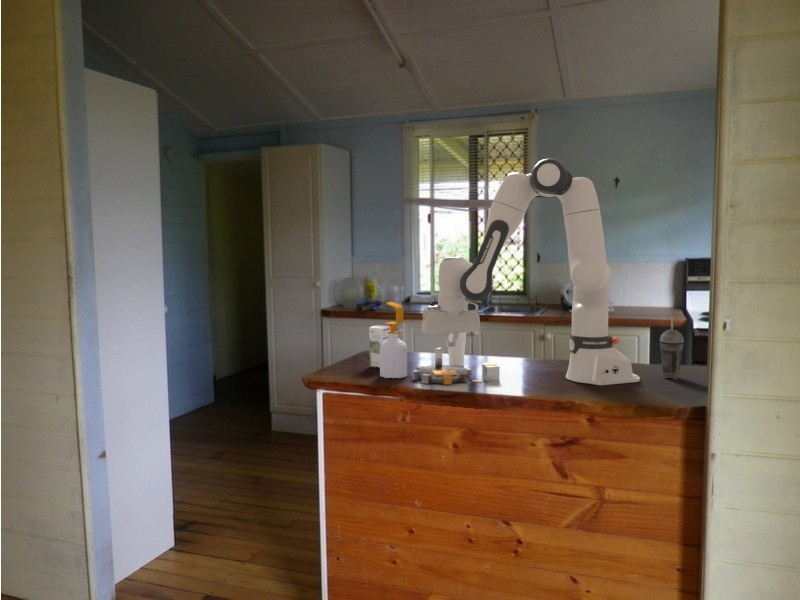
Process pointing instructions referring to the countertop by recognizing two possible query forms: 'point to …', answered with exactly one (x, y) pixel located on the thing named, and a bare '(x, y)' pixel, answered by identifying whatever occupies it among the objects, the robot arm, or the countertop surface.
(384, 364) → the soap bottle
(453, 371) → the sprocket
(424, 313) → the robot arm
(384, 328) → the syrup box
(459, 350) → the drinking glass
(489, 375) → the marked link
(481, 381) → the timing mark
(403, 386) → the countertop surface
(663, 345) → the beverage cup
